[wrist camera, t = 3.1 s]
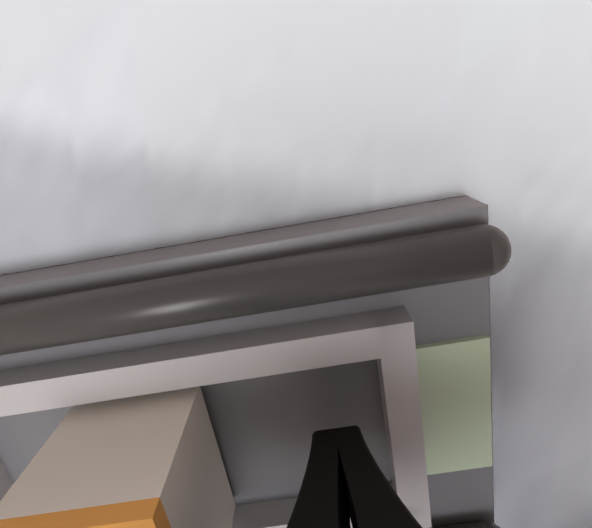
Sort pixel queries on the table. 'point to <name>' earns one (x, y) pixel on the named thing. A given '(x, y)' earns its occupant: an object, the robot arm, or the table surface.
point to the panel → (281, 351)
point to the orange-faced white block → (126, 469)
